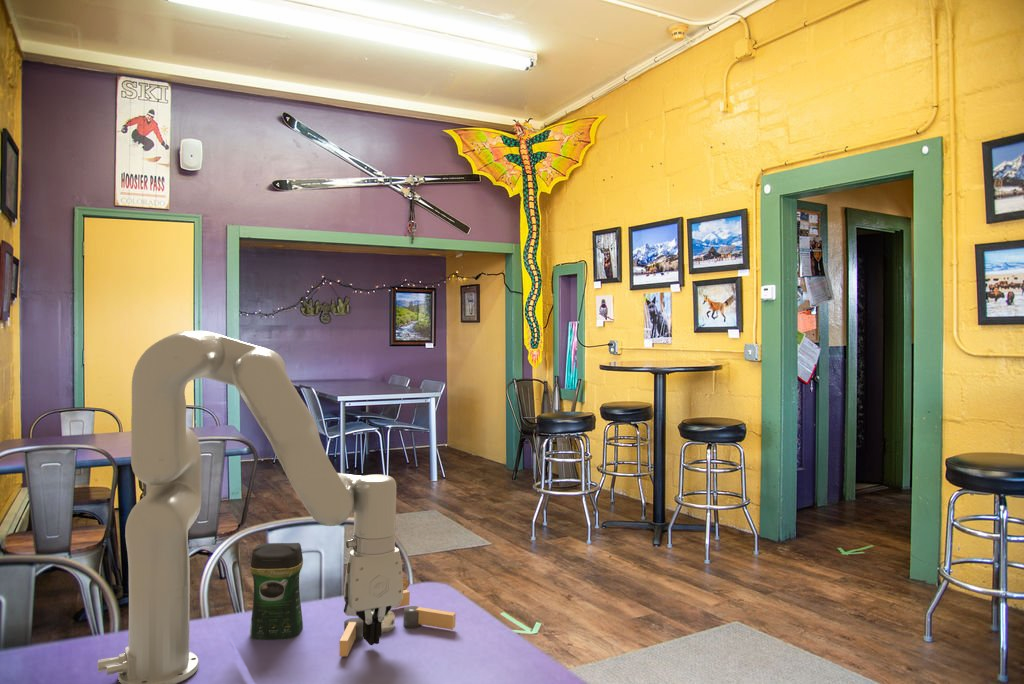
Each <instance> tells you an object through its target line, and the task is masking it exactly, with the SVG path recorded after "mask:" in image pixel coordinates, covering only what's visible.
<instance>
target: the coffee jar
mask: <svg viewBox="0 0 1024 684" xmlns="http://www.w3.org/2000/svg"><path fill="white" fill-rule="evenodd" d="M301 545H302V544H301V543H300V542H271V543H265V542H262V543H261V542H260V543H258V544H257V545H256V546H255V547H254V548H253V550H252V554H251V558H250V559H251V560H250V566H249V570H250V573H251V576H252V579H253V598H252V599H253V601H252V609H251V610H252V612H251V620H250V631H249V636H250V638H252V639H254V640H259V641H260V640H261V641H276V640H278V641H279V640H280V641H281V640H289V639H294V638H296V637H298V636H299V635H300V634H301V633H302V631H303V630H304V629H303V627H304V623H303V611H302V604H301V602H302V601H301V594H300V573H301V571H302V568H303V565H304V558H303V549H302V546H301Z"/></svg>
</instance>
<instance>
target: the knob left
mask: <svg viewBox="0 0 1024 684" xmlns="http://www.w3.org/2000/svg"><path fill="white" fill-rule="evenodd" d="M343 623H344V624H343V634H342V635H341V638H340V639H339V654H338V656H339V657H348V656H349V653H350V651H351V650H352V647H353V645H354V643H355V642H359V641H361V640H363V639H364V638H363V620H362V619H361V618H360V617H355V618H353V617H352V618H348V619H346V620H344V622H343Z"/></svg>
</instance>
